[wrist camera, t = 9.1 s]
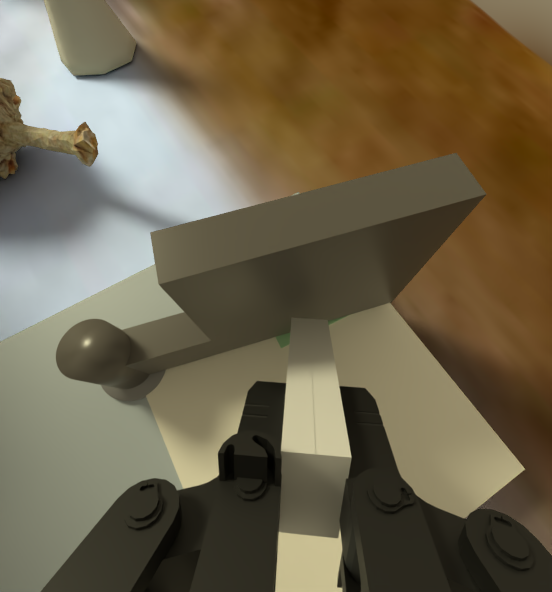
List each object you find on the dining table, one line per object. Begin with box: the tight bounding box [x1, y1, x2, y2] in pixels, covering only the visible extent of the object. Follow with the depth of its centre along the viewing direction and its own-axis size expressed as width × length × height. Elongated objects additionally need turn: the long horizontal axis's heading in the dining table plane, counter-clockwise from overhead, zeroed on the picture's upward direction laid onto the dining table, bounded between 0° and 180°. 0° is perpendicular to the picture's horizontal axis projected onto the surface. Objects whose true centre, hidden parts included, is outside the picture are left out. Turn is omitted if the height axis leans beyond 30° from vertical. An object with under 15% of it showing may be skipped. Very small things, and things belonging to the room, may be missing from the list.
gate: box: [56, 153, 486, 389], centre depth 12 cm, size 15×2×8 cm, turn 107°
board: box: [0, 192, 525, 592], centre depth 13 cm, size 26×18×5 cm
